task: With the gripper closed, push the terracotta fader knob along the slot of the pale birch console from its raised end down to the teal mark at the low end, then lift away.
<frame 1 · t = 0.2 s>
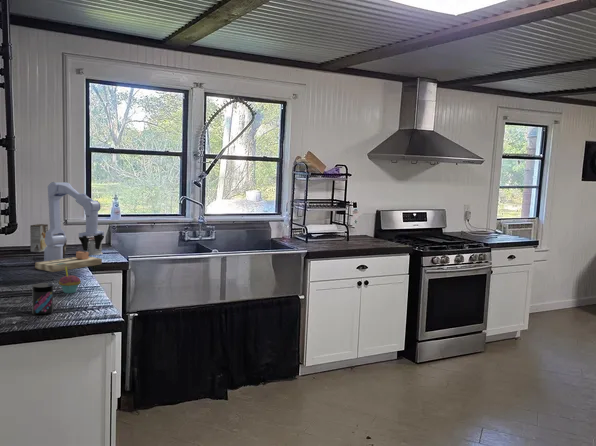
hand: (91, 249, 270), 10 cm above the countertop, tool pointing down, fingers open, 7 cm apart
supplement container: (42, 314, 187), on the countertop
french press: (93, 254, 316), on the countertop
fader console: (69, 266, 274), on the countertop
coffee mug: (60, 257, 299), on the countertop
coffee box: (39, 251, 317), on the countertop
fader knob: (82, 254, 281), point 5 cm above the countertop, slide at 8.0 cm
cupcake: (69, 292, 220), on the countertop
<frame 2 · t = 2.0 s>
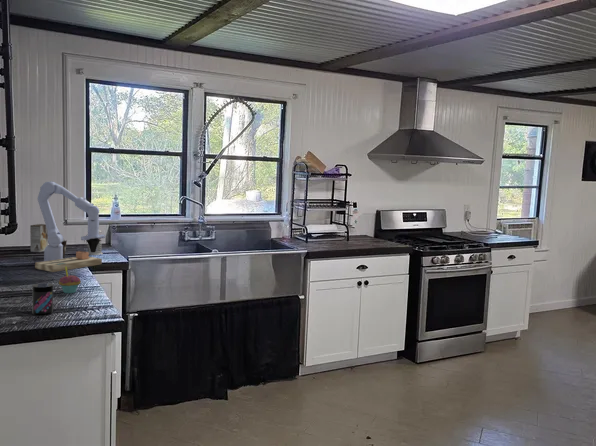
hand: (93, 252, 287), 6 cm above the countertop, tool pointing down, fingers closed
nothing on the countertop moved.
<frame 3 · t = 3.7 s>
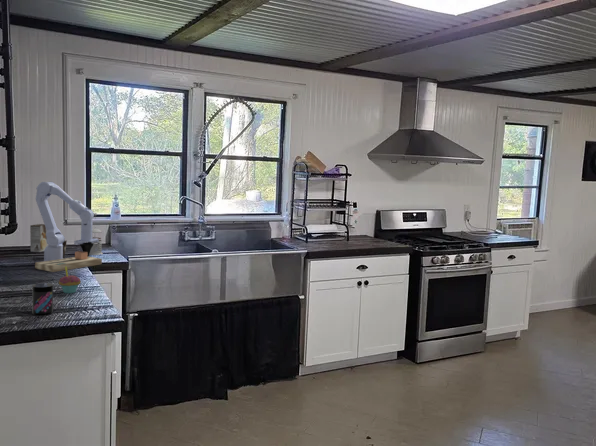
hand: (86, 256, 283), 4 cm above the countertop, tool pointing down, fingers closed
fader knob: (81, 254, 280), point 5 cm above the countertop, slide at 7.2 cm, touching gripper
everything else where it was.
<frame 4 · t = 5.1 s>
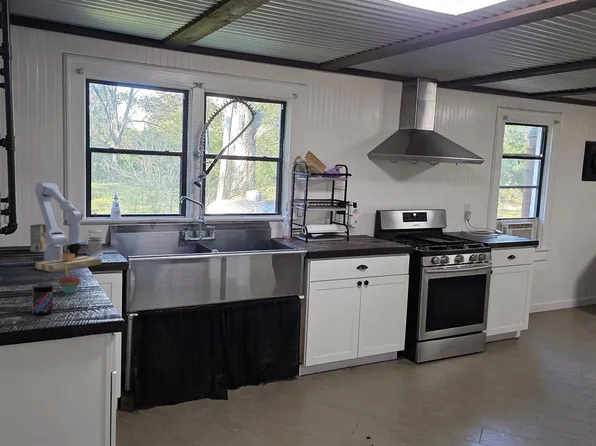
hand: (73, 258, 276), 4 cm above the countertop, tool pointing down, fingers closed
fader knob: (68, 256, 273), point 5 cm above the countertop, slide at -0.8 cm, touching gripper
everything else where it was.
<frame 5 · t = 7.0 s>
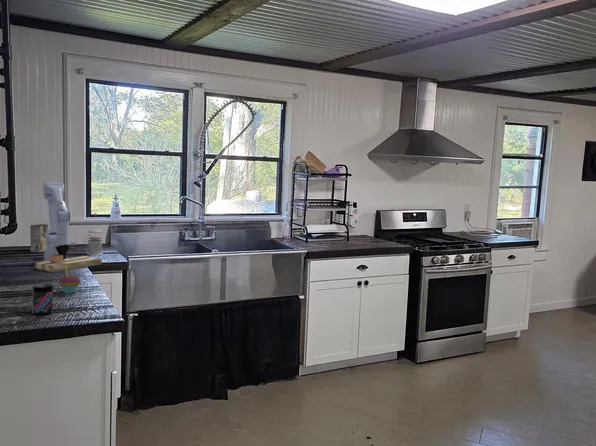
hand: (62, 259, 270), 4 cm above the countertop, tool pointing down, fingers closed
fader knob: (56, 258, 267), point 5 cm above the countertop, slide at -7.9 cm, touching gripper
everything else where it was.
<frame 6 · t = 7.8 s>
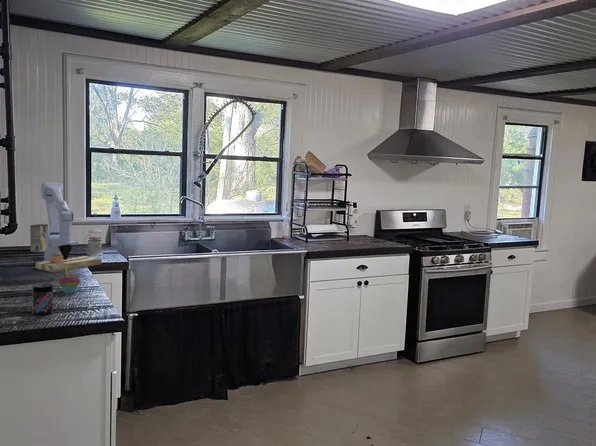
hand: (65, 259, 272), 4 cm above the countertop, tool pointing down, fingers closed
fader knob: (56, 258, 267), point 5 cm above the countertop, slide at -7.9 cm
everything else where it was.
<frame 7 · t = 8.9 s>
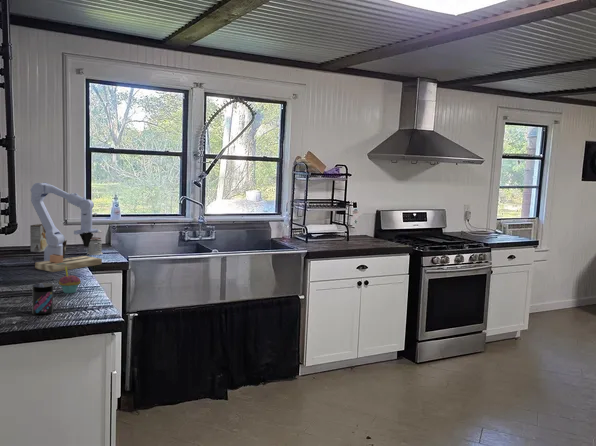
hand: (86, 246, 283), 9 cm above the countertop, tool pointing down, fingers closed
nothing on the countertop moved.
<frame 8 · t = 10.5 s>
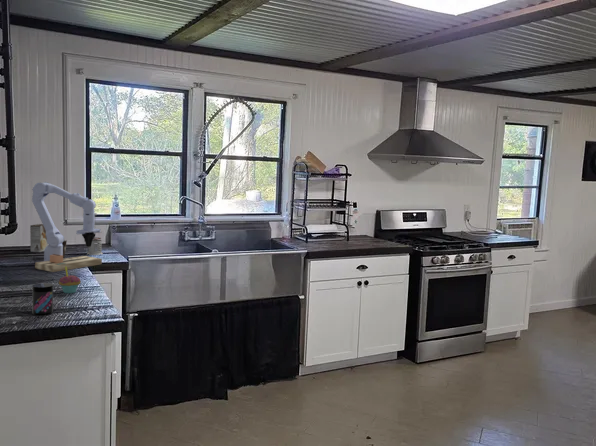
hand: (88, 246, 284), 9 cm above the countertop, tool pointing down, fingers closed
nothing on the countertop moved.
at the end: fader knob slide at -7.9 cm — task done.
